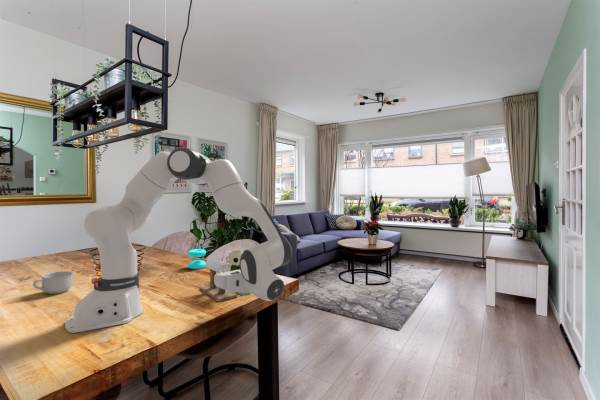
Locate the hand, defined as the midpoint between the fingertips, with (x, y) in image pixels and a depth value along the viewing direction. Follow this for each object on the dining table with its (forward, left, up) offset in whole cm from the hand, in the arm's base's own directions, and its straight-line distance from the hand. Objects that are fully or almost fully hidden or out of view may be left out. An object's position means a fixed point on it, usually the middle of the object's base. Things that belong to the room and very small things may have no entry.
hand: (232, 271), depth 116 cm
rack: (0, +14, -12) cm, 18 cm away
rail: (0, +14, -2) cm, 14 cm away
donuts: (+10, +63, -12) cm, 65 cm away
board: (+11, +14, -12) cm, 21 cm away
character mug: (+18, +31, -12) cm, 38 cm away
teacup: (-54, +61, -12) cm, 83 cm away
